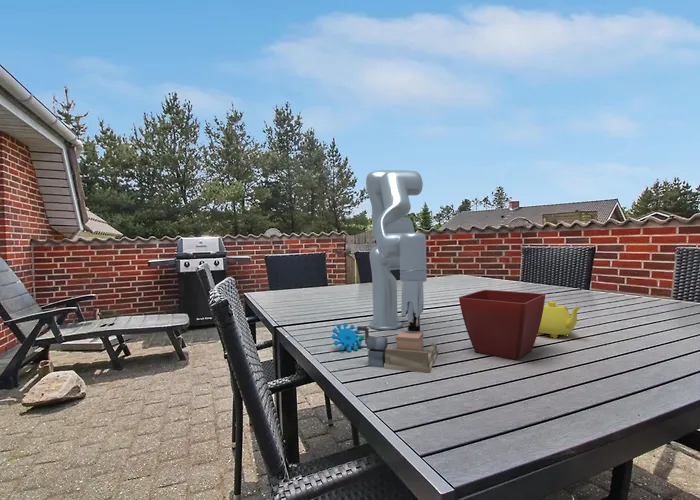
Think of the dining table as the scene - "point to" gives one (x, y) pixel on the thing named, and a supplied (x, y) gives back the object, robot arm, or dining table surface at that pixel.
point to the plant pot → (502, 321)
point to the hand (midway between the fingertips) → (414, 339)
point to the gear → (347, 337)
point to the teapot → (557, 320)
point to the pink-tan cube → (410, 340)
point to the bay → (397, 355)
